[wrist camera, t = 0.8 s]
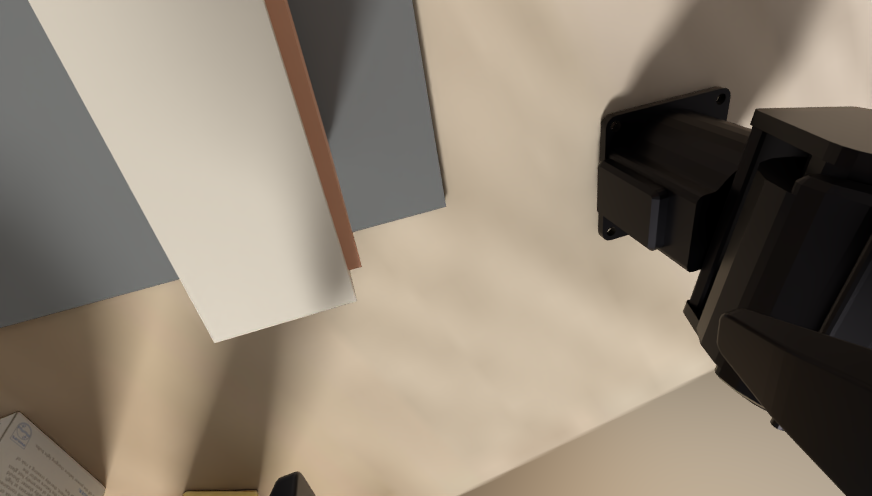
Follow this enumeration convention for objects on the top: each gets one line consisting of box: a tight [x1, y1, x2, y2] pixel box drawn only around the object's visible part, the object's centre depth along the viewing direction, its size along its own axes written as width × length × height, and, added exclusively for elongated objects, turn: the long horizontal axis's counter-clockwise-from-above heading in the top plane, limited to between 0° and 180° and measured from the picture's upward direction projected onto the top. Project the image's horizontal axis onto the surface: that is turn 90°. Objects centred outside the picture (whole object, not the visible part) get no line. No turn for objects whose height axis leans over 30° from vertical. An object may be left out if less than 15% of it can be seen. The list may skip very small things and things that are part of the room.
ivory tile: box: [28, 0, 362, 343], centre depth 12 cm, size 3×7×10 cm, turn 8°
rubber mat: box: [0, 0, 446, 328], centre depth 16 cm, size 19×14×1 cm
